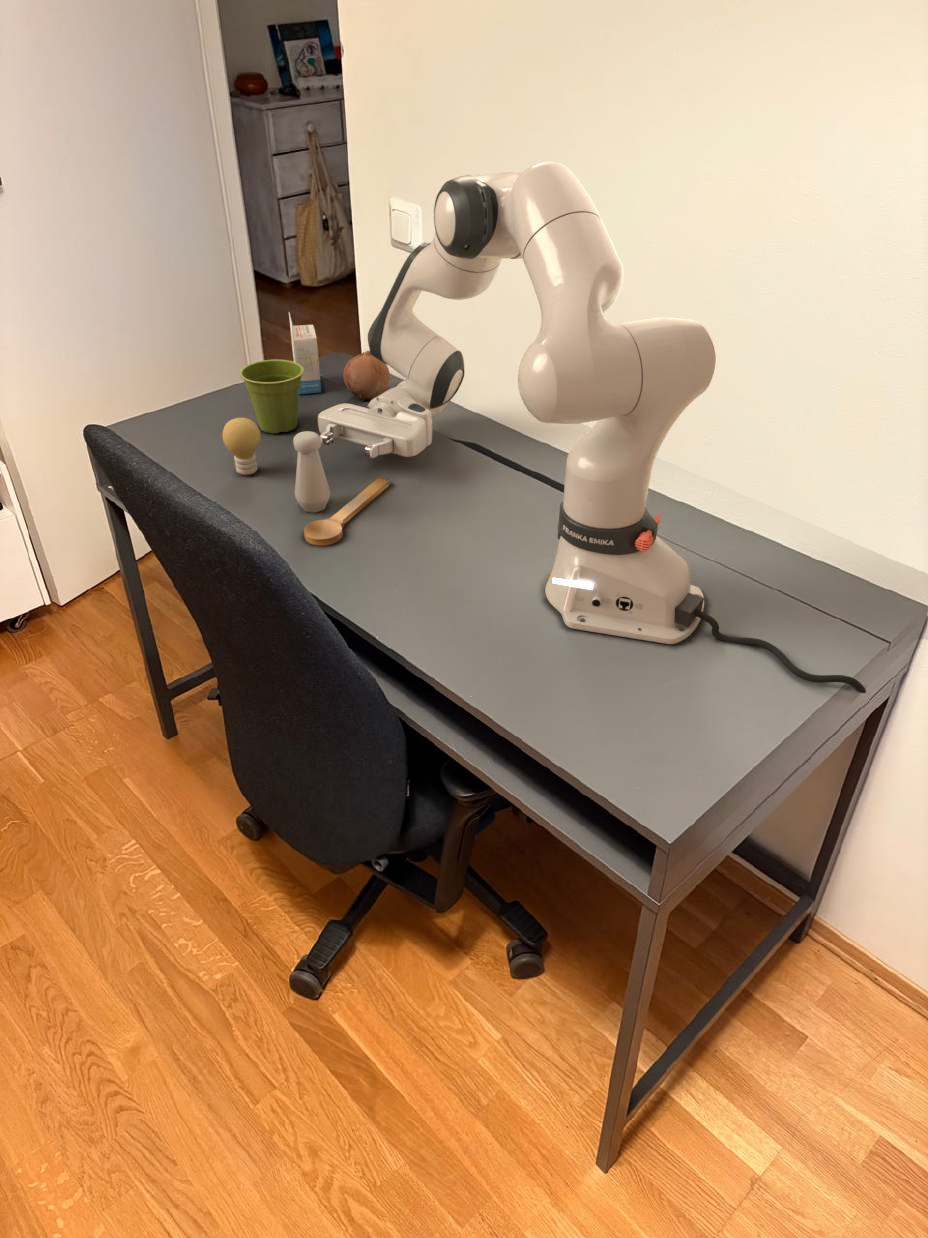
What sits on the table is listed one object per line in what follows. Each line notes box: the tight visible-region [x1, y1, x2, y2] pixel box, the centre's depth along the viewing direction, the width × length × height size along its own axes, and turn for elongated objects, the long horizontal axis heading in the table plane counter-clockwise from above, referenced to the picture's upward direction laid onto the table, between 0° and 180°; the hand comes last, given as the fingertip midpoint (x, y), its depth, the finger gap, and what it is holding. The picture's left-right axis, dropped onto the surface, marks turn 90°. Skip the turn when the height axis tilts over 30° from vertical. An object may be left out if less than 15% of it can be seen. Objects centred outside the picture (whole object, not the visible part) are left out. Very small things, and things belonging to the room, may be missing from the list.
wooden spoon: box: [303, 477, 391, 547], centre depth 150 cm, size 22×6×1 cm, turn 154°
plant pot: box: [239, 359, 304, 434], centre depth 174 cm, size 12×12×11 cm
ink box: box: [288, 311, 322, 395], centre depth 188 cm, size 8×5×15 cm, turn 13°
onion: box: [342, 350, 391, 401], centre depth 186 cm, size 10×9×10 cm
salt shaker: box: [292, 430, 331, 514], centre depth 148 cm, size 6×6×13 cm
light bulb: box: [222, 417, 262, 476], centre depth 159 cm, size 6×6×10 cm
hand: (345, 446), depth 155 cm, fingers open, 8 cm apart
